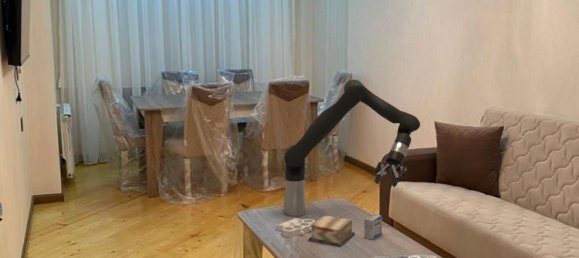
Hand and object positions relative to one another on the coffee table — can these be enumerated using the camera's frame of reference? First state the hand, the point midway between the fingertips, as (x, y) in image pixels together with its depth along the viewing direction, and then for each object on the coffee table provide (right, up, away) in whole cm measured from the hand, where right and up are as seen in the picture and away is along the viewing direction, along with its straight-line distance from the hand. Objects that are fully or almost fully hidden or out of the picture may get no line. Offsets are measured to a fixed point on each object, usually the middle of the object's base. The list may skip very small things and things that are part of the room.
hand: (384, 184), depth 262 cm
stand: (-24, -22, -9) cm, 34 cm away
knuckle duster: (-40, -21, +1) cm, 45 cm away
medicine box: (-6, -22, -8) cm, 24 cm away
